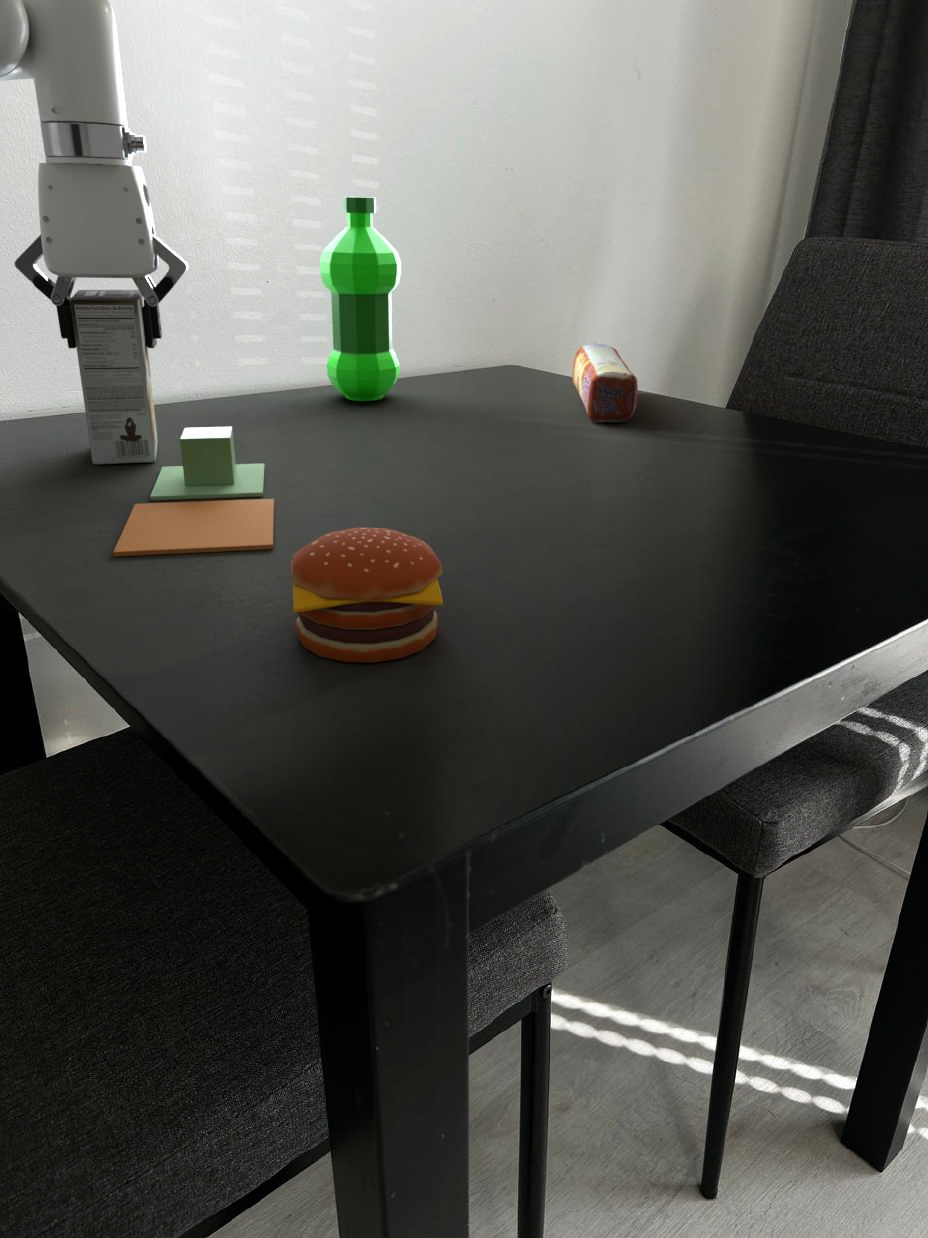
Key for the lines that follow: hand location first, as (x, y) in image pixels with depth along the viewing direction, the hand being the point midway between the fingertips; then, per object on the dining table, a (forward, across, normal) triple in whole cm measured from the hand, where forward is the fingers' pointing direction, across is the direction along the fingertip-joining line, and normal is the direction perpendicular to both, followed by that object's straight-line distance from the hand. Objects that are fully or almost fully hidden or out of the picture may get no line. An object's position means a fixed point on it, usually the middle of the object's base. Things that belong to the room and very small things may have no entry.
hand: (113, 344), depth 92 cm
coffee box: (+11, 0, 0) cm, 11 cm away
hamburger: (+11, -21, +47) cm, 53 cm away
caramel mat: (+11, -9, +25) cm, 29 cm away
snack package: (+11, -59, -18) cm, 62 cm away
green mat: (+11, -9, +12) cm, 19 cm away
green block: (+11, -9, +12) cm, 19 cm away
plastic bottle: (+11, -27, -27) cm, 40 cm away
